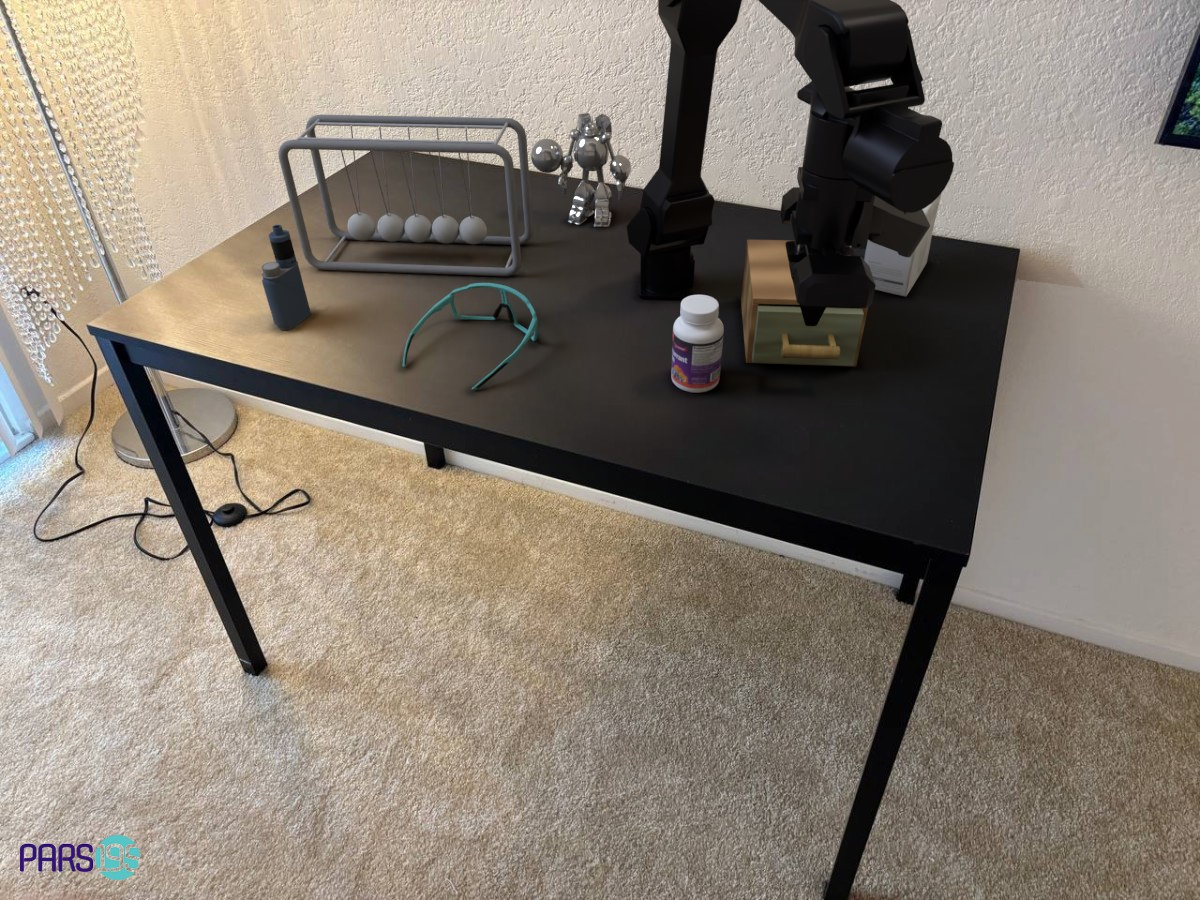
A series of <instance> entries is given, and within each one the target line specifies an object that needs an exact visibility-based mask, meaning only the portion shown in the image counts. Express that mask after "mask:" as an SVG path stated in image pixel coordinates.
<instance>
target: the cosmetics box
mask: <svg viewBox="0 0 1200 900" xmlns="http://www.w3.org/2000/svg"><path fill="white" fill-rule="evenodd" d="M941 197H942V193H941V194H940V195H939V197H938V198H937V199H936V200H935V201H934V202H933V203H931V204H930V205H928V206H927V207H926V208H924V209H922V210H923V211H924V213H925V216H926V218H927V220H928V222H929V224H930V228H929V229H928V231H927V232H926V234H925V235H924V237H923V238H922V240H921V241H920V243H919V244H918V246H917V248H916V249H915V251H914V252H913V254H912V255H911V257H903V256H901V255H899V254H898V252H896V251H894V250H891V249H888V248H886V247H883V246H880V245H878V244H875V243H873V242H871V241H869V240H868V242H867V247H866V249H865V251H864V258H863V260H864V261H865V262H866V263H867V264H868V265H869V267H870V270H871V273H872V276H873V279H874V282H875V285H876V286H875V291H880V292H884V293H888V294H892V295H897V296H901V297H904V298H905V297H907V296H908V294H909V293H910V291H911V290H912V288H913V287H914V286H915V283H916V281H917V280H918V278H919V277H920V275H921V273H922V272H923V270H924V268H925V267H926V265H927V263H928V258H929V253H930V248H931V243H932V237H933V232H934V228H935V224H936V219H937V215H938V210H939V207H940V203H941Z"/></svg>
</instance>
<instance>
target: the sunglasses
mask: <svg viewBox="0 0 1200 900" xmlns="http://www.w3.org/2000/svg"><path fill="white" fill-rule="evenodd" d="M480 288H481V289H484V288H487V289H489V288H490V289H496V290H498V291H499V294H500V298H501V302H500V303H499V304H498V306H497V308H496V309H495V310H494V312H493V315H492V316H486V315H485V316H482V315H463V314H458V312H457V309H456V305H455V294H456V293H457V294H458V293H460V292H463V291H468V290H470V289H480ZM507 293H510V294H512V295H514V296H516V297H518V298H519V299H520V300H521V301H522V302H524V303H525V305H526V306H527V308H528V310H529V311H530V314H531V316H532V318H531V321H530V324H529V326H528V329H527V328H525V327H524V326H522V325H521V324H520V323H518V320H517V316H516V314H515V311H514V307H513V306H512V304H511V302H510V301H509V298H507V296H508V294H507ZM448 305H450V309H451V312H452V313H451V314H452V315H453V318H454V319H455V320H476V321H477V320H479V321H482V320H484V321H496V320H497V319H498V318H499V316H500V314H501V312H502V310H503V308H504V309H506V313H507V317H508V321H509V322H510V323H512V324H513V325H514V327H516V328H517V329H519V330H520V331H521V332H523V333H524V334H525V335H524V337H523V339H522V341H521V343H519V345H518V346H517V348H516V349H515V350H514V351H513V352H512V353H511V354H510V355H508V356H507V357H506V358H505V359H503V361H501V363H500V364H498V365H497V366H496V367H495V368H494V369H493V370H492V371H490V373H488V374H487V375H486V376H485V377H483V378H482V379H481V380H479V382H477V383H476V384H475V385H474V386H473V387H471V390H472V391H477V390H478V389H480V388H482V387H483V386H484V385H485V384H486V383H488V382H489V381H490V380H491V379H492V378H494V377H495V376H496V375H497V374H498V373H499V372H501V371H502V370H503V369H504V368H505V367H506V366H507V365H509V364H510V363H511V362H512V361H514V359H515V358H516V357H517V356H518V355H519V353H520V352H521V351H522V349H523V348H524V346H525V345H526V344H527V343H528V342H529V340H530V339H531V340H532V342H536V341H537V339H538V334H539V321H538V316H537V313H536V310H535V308H534V306H533V304H532V303H531V302H530V301H529V299H528V298H527V297H526V295H524V294H523V293H521V292H519V291H518V290H516V288H515V289H514V288H512V287H510V286H508V285H504V284H499V283H493V282H476V283H475V282H474V283H470V284H467V285H466V286H461V287H457V288H455V289H453V290H452V291H451V292H450V293H449V294H447V295H446V296H444V297H443V298H442V299H440V300H439V301H438V302H436V303H435V304H434V305H433V306H432V307H431V308H430V309H429V310H428V311H427V312H426V313H425V314H424V315H423V317H421V318H420V320H419V321H418V322H417V324H416V325H414V327H413V328H412V330H411V331H410V333H409V335H408V338H407V340H406V343H405V347H404V350H403V351H404V352H403V359H402V368H406V367H407V361H408V354H409V349H410V347H411V344H412V341H413V339H414V337H415V336H416V334H417V333H418V332H419V331H420V329H421V328H422V327H423V325H424V324H425V322H426V321H427V320H428V319H429V318H430V317H431V316H432V315H434V314H435V313H437V312H441V311H443V309H444V308H446V307H447V306H448Z"/></svg>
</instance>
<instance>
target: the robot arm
mask: <svg viewBox="0 0 1200 900" xmlns="http://www.w3.org/2000/svg"><path fill="white" fill-rule="evenodd" d="M757 1H758V2H759V3H760V4H761V5H762V6H764V8H765V9H767V11H768V12H770V13H771V14H772V15H773V16H774V17H775V18H776V19H777V20H778V21H779V22H780V23H781V24H782V25H783V26H784V27H785V28H787V30H789V32H790V33H791V34H792V36H793V37H794V58H795V59H796V60H797V63H799V65H800V66H801V68H802V69H803V71H804V72H805V73H806V75H807V77H808V78H809V79H810V81H809V83H807V84H806V85H803V86H802V87H801V88H800V89H799V90H798V91H797V92H796V96H797V97H796V98H797V99H798V100H800V101H802V102H804V103H805V104H806V105H809V106H810V109H809V115H808V123H807V130H806V137H805V145H804V151H803V159H802V164H801V165H802V166H798V168H797V174H796V179H797V184H798V186H793V187H791V188H790V189H789V190H788V191H787V192H785V193H784V194H783V195H782V198H781V204H780V213H779V214H780V219H781V225H782V226H785V225H786V226H787V225H789V224H791V226H792V233H793V237H794V241H787V242H786V243H785V246H786V251H787V257H788V260H789V267H790V273H791V278H792V280H793V284H794V290H795V295H796V301H797V303H799V305H800V308H801V312H802V315H803V319H804V323H805V325H806V326H816V325H817V324H818V322H819V320H820V318H821V317H822V315H823V313H824V311H825V309H826V307H849V308H867V307H868V308H869V307H871V306H872V304H873V300H874V296H875V291H876V290H875V286H876V285H875V282H874V279H873V276H872V273H871V270H870V267H869V265H868V264H867V263H866V262H865V261H864V258H863V257H862V256H861V255H857V253H856V251H855V249H857V250H859V249H863V250H864V249H865V250H866V247H867V242H868V240H869V241H871V242H873V243H875V244H878V245H880V246H883V247H886V248H888V249H891V250H894V251H896V252H898V254H899V255H901V256H903V257H911V255H912V254H913V252H914V251H915V249H916V248H917V246H918V244H919V243H920V241H921V240H922V238H923V237H924V235H925V234H926V232H927V231H928V229H929V228H930V224H929V222H928V220H927V218H926V216H925V213H924V211H923V210H922V209H924V208H926V207H927V206H928V205H930V204H931V203H933V202H934V201H935V200H936V199H937V198H938V197H939V195H940V194H941V195H942V193H943V192H944V190H945V189H946V187H947V186H948V183H949V182H950V179H951V177H952V175H953V172H954V168H955V162H954V161H953V151H952V148H951V145H950V144H949V143H948V141H947V140H945V139H943V138H942V137H941V133H942V128H943V121H942V119H940V118H937V117H935V116H933V115H929V114H923V113H920V112H918V111H915V110H913V109H911V108H913V107H919V106H923V105H924V104H925V101H926V98H925V93H924V87H923V81H924V78H923V75H922V73H921V70H920V67H919V65H918V61H917V56H916V52H915V47H914V42H913V38H912V33H911V30H910V26H909V22H910V20H909V18H908V14H907V13H906V11H905V10H904V9H903V7H902V6H901V5H900V4H899V3H897V2H896V1H894V0H757ZM742 2H743V0H657V13H658V17H659V19H660V21H661V23H662V25H663V27H664V29H665V31H666V33H667V36H668V37H669V40H670V48H669V57H668V59H669V60H668V70H667V78H666V79H667V80H666V92H665V101H664V102H665V103H664V112H663V123H662V133H661V134H662V135H661V141H660V152H659V153H660V154H659V162H658V163H659V165H658V169H657V170H656V171H655V172H654V174H653V175H652V177H651V178H650V179H649V181H648V182H647V183H646V185H645V186H644V188H643V190H642V196H641V197H642V198H641V202H640V206H639V210H638V211H637V213H636V214H635V215H634V216H633V217H632V219H631V220H630V221H629V222H628V223H627V225H626V233H627V241H628V243H629V245H630V246H632V247H633V249H635V251H637V252H638V253H639V254H640V268H639V269H640V270H639V271H640V272H639V273H640V275H639V276H640V278H639V285H638V298H640V299H660V300H661V299H663V300H666V299H667V300H683V299H684V298H686V297H688V296H691V295H690V289H693V288H694V284H695V269H696V268H695V265H696V251H695V250H693V249H692V247H693V246H698V245H699V246H701V245H704V244H705V241H706V238H707V235H708V232H709V229H710V226H712V225H713V211H714V210H713V209H714V206H715V202H716V201H715V197H714V196H713V195H712V194H711V193H710V192H709V189H708V187H707V185H706V183H705V181H704V180H703V178H702V169H703V163H704V162H703V160H704V153H705V145H706V140H707V139H706V138H707V132H708V123H709V117H710V109H711V101H712V95H713V88H714V87H713V86H714V79H715V71H716V65H717V57H718V50H719V48H720V46H721V45H722V43H723V42H724V41H725V39H726V38H727V36H728V35H729V33H730V32H731V31H732V29H733V28H734V26H735V25H736V24H737V22H738V19H739V15H740V10H741V7H742ZM887 80H890V81H891V82H892V83H891V84H887V85H886V84H885V85H881V86H873V87H868V88H863V89H854V88H852V87H854V86H859V85H866V84H872V83H879V82H884V81H887ZM790 222H791V223H790ZM850 246H851V247H850Z"/></svg>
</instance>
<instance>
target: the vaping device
mask: <svg viewBox="0 0 1200 900" xmlns="http://www.w3.org/2000/svg"><path fill="white" fill-rule="evenodd" d="M268 239H269V242H270V246H271V249H272V252H273V256H274V259H275V261H269V262H266V263H264V264H263V265H262V266H261V269H262V273H261V277H262V279H261V283H262V286H263V290H264V294H265V297H266V300H267V304H268V306H269V310H270V314H271V317H272V320H273V323H274V325H275V326H276V327H277V329H278V330H282V331H290V330H292V329H294V328H296V327H297V326H298V325H299V324H301V323H302V322H304V321H305V320H306V319H307V318H309V317H310V316H311V315H312V312H311V309H310V305H309V301H308V297H307V293H306V289H305V285H304V282H303V278H302V277H303V276H302V274H301V270H300V269H301V268H300V266H299V261H297V256H296V254H295V249H294V246H293V242H292V238H291V234H290V231H289V230H287V229H283V226H282V224H274V225H273V226H272V231H271V232H270V233H269V234H268Z"/></svg>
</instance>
